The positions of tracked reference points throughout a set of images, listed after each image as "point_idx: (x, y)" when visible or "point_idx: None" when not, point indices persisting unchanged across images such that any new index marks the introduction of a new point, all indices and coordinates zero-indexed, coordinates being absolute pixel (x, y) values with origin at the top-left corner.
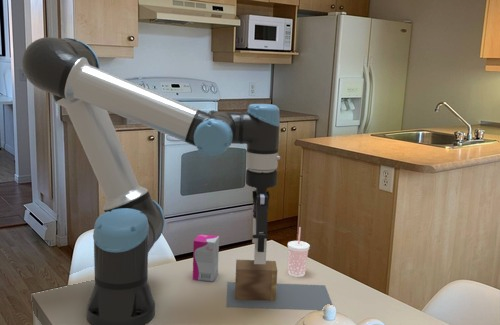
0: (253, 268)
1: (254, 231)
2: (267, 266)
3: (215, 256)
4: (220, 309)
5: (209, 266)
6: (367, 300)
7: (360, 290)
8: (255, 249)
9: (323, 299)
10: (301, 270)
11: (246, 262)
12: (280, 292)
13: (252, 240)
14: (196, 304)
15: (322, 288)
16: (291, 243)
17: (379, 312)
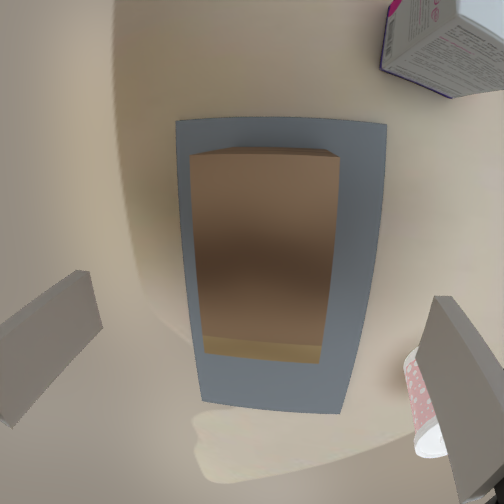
0: (210, 251)
1: (466, 365)
2: (247, 322)
3: (444, 56)
4: (175, 102)
5: (402, 36)
6: (268, 452)
7: (314, 454)
8: (19, 316)
9: (257, 397)
10: (407, 387)
11: (295, 218)
12: None
13: (450, 305)
14: (204, 24)
15: (321, 407)
16: None
17: (219, 451)
